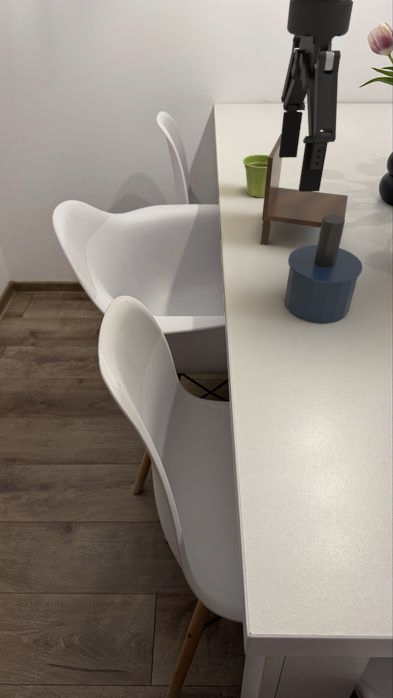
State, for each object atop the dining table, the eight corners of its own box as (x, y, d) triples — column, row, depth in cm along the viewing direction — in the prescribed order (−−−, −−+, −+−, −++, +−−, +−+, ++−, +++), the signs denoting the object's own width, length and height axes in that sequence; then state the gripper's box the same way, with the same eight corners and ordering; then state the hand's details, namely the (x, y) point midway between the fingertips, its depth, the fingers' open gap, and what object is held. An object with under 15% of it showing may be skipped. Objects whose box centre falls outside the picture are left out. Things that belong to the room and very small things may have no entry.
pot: (349, 293, 93) (359, 253, 87) (346, 328, 84) (357, 287, 79) (289, 283, 95) (295, 244, 90) (280, 317, 87) (286, 276, 81)
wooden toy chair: (341, 223, 115) (359, 141, 103) (337, 255, 104) (356, 166, 91) (271, 214, 119) (280, 133, 107) (259, 244, 107) (268, 157, 95)
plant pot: (251, 203, 124) (254, 169, 119) (234, 189, 131) (236, 157, 125) (282, 197, 127) (287, 164, 122) (264, 184, 134) (267, 152, 128)
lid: (362, 255, 88) (374, 208, 82) (359, 292, 79) (373, 241, 73) (292, 245, 90) (299, 199, 85) (282, 280, 81) (289, 230, 75)
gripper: (271, -13, 67) (258, 145, 81) (318, 5, 48) (291, 208, 62) (324, -13, 67) (302, 144, 81) (392, 5, 48) (348, 207, 62)
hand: (297, 172), depth 71 cm, fingers open, 13 cm apart
